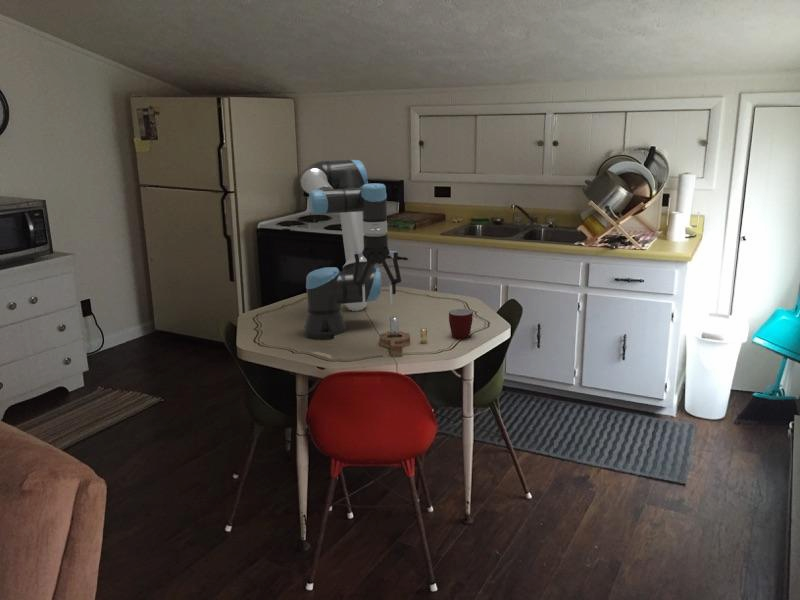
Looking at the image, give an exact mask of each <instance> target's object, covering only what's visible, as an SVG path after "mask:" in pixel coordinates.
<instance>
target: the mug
mask: <svg viewBox="0 0 800 600" xmlns="http://www.w3.org/2000/svg"><path fill="white" fill-rule="evenodd" d="M473 319H474V318H473V311H472V310H470V309H466V308H456V309H455V308H454V309H451V310H450V311H449V312H448V323H449V328H450V329H449V330H450V333H451V335H452V337H453V338H454V339H456V340H465V339H468V338H469V336H470V334H471V330H472V324H473Z"/></svg>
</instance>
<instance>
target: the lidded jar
mask: <svg viewBox="0 0 800 600" xmlns="http://www.w3.org/2000/svg"><path fill="white" fill-rule="evenodd" d="M368 303H369V301H368V302H365V305H366V306H363V302H358V303H347V304H344V306H345V307H346V308H347V309H348V311H350V310H352V311H351V312H360V311H359V310H361V311H363V310H365V308H366V307H367V305H368Z"/></svg>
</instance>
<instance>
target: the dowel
mask: <svg viewBox="0 0 800 600" xmlns="http://www.w3.org/2000/svg"><path fill="white" fill-rule="evenodd" d="M419 332H420V344H421V345H427V344H428V328H426V327H421V328H420V331H419Z"/></svg>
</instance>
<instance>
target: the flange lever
mask: <svg viewBox="0 0 800 600" xmlns="http://www.w3.org/2000/svg"><path fill="white" fill-rule="evenodd" d="M379 345H380V347H383V348H388V349H390V357H391V358H392V357H393V358H394V357H403V349H404V348H405V347H408V346H410V345H411V336H410V333H408V332H404V331H401V330H399V337H398V338H390V331H386V332H384V333H381V334H379Z"/></svg>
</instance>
